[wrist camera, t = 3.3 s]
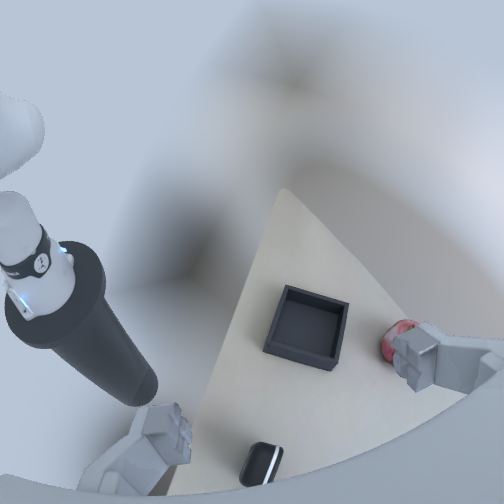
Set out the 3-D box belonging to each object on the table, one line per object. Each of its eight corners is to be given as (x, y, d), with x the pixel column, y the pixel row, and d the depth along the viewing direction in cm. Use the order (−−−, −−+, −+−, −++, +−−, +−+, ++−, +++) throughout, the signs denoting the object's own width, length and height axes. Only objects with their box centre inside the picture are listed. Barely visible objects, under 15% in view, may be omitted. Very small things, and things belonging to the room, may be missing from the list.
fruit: (422, 360, 48) (450, 338, 40) (389, 381, 45) (416, 361, 38) (401, 325, 53) (424, 299, 46) (367, 342, 51) (389, 316, 43)
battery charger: (250, 442, 38) (256, 437, 29) (273, 449, 37) (286, 446, 29) (235, 480, 33) (236, 486, 25) (259, 487, 33) (267, 495, 24)
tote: (262, 351, 49) (265, 342, 46) (282, 296, 57) (285, 284, 54) (330, 371, 47) (337, 363, 44) (342, 313, 55) (349, 303, 52)
